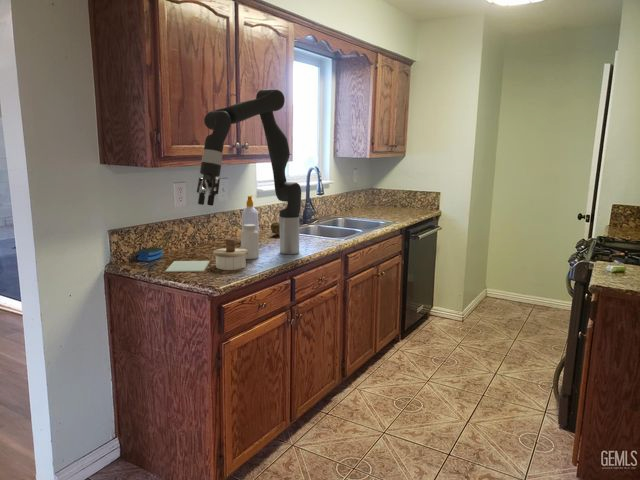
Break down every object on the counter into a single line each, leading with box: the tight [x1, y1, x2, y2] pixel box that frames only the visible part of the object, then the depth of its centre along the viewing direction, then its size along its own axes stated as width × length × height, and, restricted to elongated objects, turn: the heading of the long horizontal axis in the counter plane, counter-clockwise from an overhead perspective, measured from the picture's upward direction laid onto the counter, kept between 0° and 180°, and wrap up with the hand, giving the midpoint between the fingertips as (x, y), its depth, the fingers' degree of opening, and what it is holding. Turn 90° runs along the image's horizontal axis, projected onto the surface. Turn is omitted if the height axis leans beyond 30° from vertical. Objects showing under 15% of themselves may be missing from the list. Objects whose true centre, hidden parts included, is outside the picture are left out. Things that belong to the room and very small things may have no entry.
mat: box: [164, 260, 210, 273], centre depth 202 cm, size 17×15×1 cm
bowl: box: [215, 255, 247, 271], centre depth 203 cm, size 12×12×6 cm
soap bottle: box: [241, 194, 259, 233], centre depth 257 cm, size 9×9×24 cm
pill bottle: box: [240, 224, 260, 260], centre depth 218 cm, size 8×8×15 cm
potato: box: [270, 222, 280, 237], centre depth 274 cm, size 8×13×8 cm, turn 147°
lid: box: [212, 238, 248, 257], centre depth 202 cm, size 14×14×6 cm
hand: (205, 204), depth 186 cm, fingers open, 8 cm apart
